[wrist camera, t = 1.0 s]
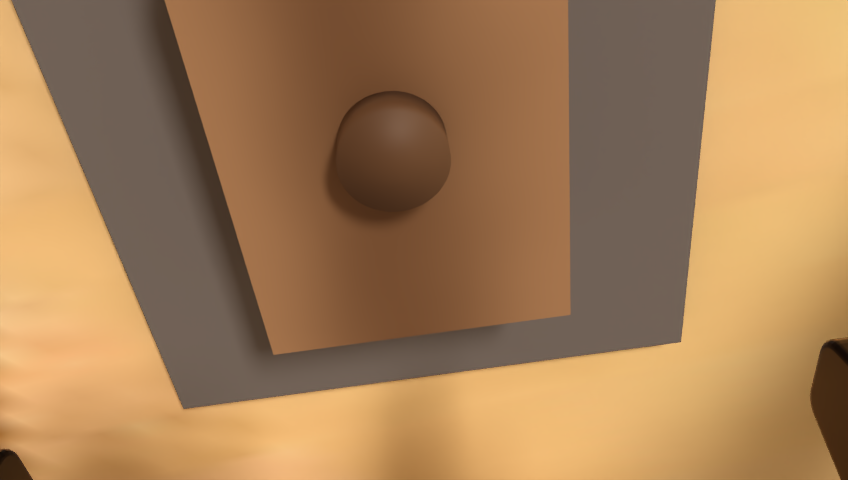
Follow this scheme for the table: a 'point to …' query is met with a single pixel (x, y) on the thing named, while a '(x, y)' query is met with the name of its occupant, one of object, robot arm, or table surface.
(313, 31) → the lid
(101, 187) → the mat
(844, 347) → the robot arm
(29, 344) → the table surface
